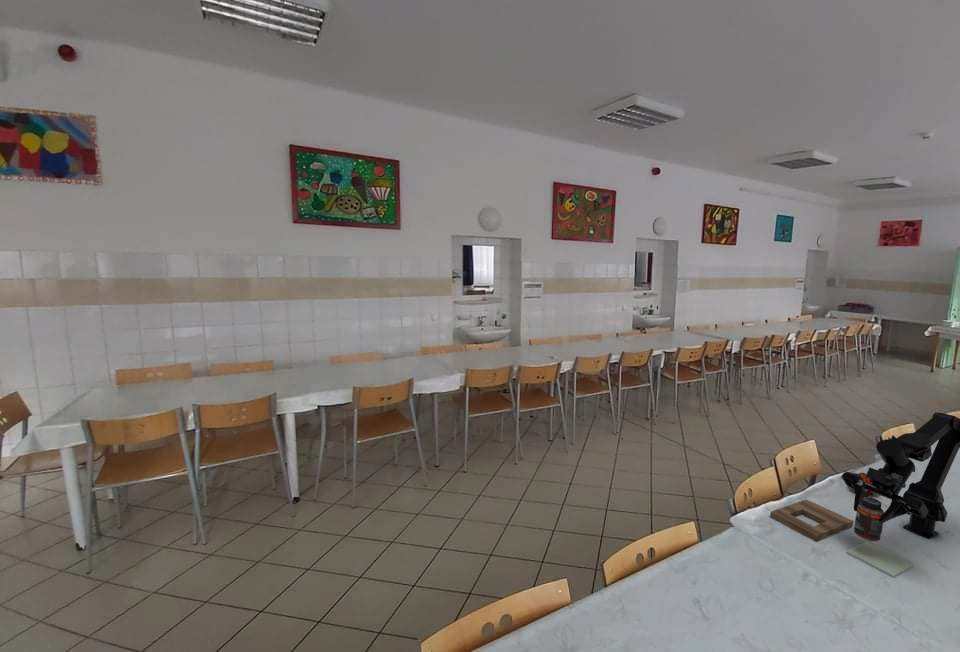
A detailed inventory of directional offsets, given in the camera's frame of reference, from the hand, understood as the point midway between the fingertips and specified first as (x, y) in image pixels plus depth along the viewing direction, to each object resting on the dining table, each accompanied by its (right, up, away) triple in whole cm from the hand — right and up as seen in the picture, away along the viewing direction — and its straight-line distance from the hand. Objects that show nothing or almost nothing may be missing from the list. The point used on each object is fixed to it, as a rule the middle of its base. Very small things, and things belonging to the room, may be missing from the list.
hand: (867, 516), depth 124 cm
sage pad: (+3, -12, 0) cm, 13 cm away
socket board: (-3, -10, +18) cm, 20 cm away
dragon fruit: (+32, -8, +37) cm, 50 cm away
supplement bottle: (+1, -7, +2) cm, 7 cm away
